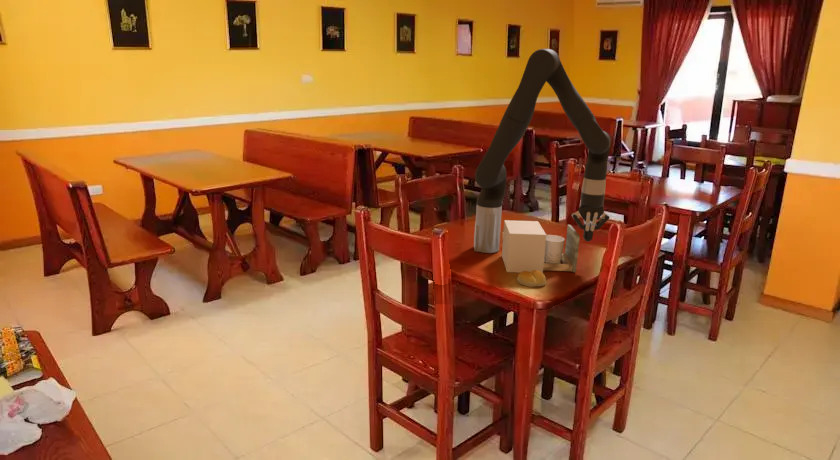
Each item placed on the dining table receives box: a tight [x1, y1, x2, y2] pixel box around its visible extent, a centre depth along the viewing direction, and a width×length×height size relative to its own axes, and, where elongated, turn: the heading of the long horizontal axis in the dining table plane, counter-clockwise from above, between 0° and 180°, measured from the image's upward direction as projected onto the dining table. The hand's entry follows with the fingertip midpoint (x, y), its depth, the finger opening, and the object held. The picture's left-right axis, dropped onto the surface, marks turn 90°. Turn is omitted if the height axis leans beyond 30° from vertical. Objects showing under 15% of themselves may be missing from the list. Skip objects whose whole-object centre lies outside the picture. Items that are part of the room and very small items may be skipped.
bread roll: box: [516, 270, 547, 288], centre depth 184 cm, size 8×9×4 cm
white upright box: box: [501, 219, 547, 274], centre depth 199 cm, size 12×16×14 cm
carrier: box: [543, 224, 581, 273], centre depth 199 cm, size 14×14×13 cm
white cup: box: [544, 234, 566, 264], centre depth 199 cm, size 8×8×10 cm
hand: (587, 240), depth 198 cm, fingers closed
